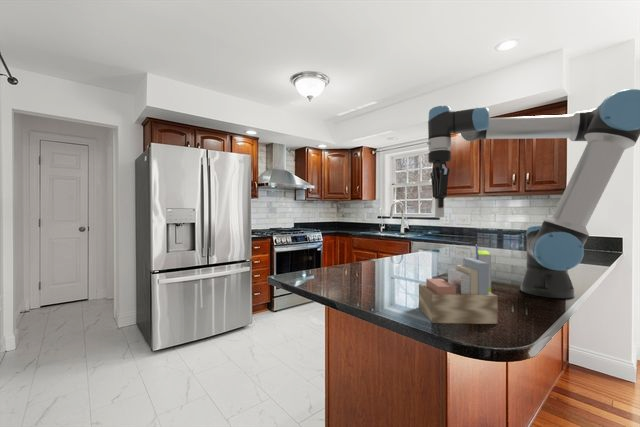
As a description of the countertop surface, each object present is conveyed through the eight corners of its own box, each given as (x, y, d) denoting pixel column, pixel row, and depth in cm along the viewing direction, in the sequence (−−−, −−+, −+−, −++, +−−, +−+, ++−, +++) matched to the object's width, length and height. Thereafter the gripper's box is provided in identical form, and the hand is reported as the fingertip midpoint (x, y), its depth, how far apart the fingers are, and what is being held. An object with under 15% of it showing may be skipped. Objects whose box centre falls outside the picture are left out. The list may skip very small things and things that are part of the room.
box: (491, 304, 96) (491, 247, 96) (476, 303, 97) (476, 247, 97) (488, 296, 106) (488, 244, 106) (474, 294, 107) (474, 244, 107)
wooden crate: (473, 307, 92) (473, 284, 92) (497, 323, 79) (497, 295, 79) (418, 307, 93) (418, 283, 93) (432, 323, 80) (432, 295, 80)
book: (441, 309, 91) (441, 278, 91) (455, 321, 81) (455, 286, 81) (426, 309, 91) (426, 278, 91) (438, 321, 81) (438, 286, 81)
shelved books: (471, 310, 90) (471, 258, 90) (488, 322, 80) (488, 263, 80) (456, 310, 90) (456, 257, 90) (471, 321, 81) (470, 263, 81)
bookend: (455, 310, 90) (455, 268, 90) (469, 321, 81) (469, 274, 81) (448, 310, 90) (448, 268, 90) (461, 321, 81) (461, 274, 81)
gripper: (423, 154, 119) (423, 216, 120) (434, 147, 106) (434, 217, 106) (443, 154, 119) (443, 216, 119) (457, 147, 106) (457, 217, 106)
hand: (439, 217), depth 113 cm, fingers closed
